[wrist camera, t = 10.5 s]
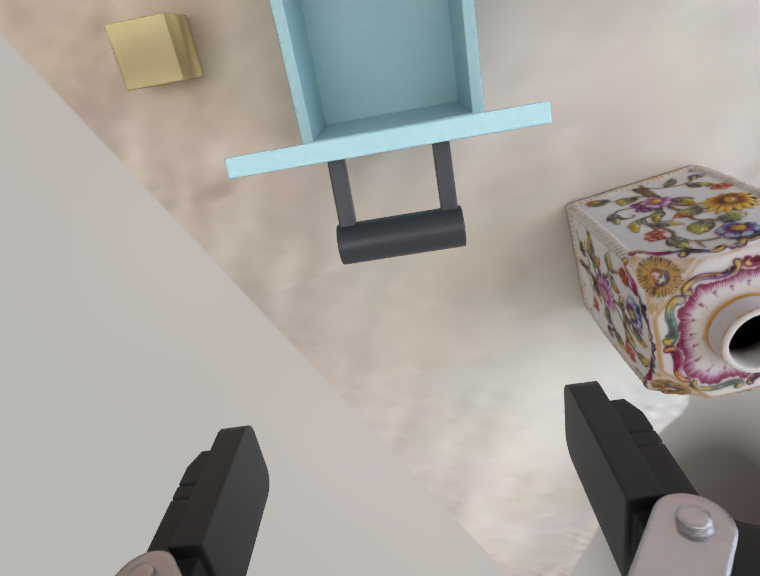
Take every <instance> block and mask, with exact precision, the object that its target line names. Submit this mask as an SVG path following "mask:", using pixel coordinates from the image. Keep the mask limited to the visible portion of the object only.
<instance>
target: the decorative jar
mask: <svg viewBox="0 0 760 576" xmlns="http://www.w3.org/2000/svg"><path fill="white" fill-rule="evenodd" d="M566 210H567V214H568V220H569V225H570V231H571V236H572V241H573V247H574V253H575V256H576V262H577V268H578V274H579V279H580V284H581V288H582V292H583V297H584V302H585V306H586V309H587V310H588V312H589V313H590V314H591V315H592V317H593V318H594V320H595V321H596V323H597V324H598V326H599V327H600V329H601V330H602V331H603V333H604V334H605V335H606V337H607V338H608V339H609V341H610V342H611V343H612V345H613V346H614V348H615V349H616V350H617V351H618V353H619V354H620V355H621V356H622V358H623V359H624V361H625V362H626V363H627V364H628V365H629V367H630V368H631V369H632V371H634V373H635V374H636V375H637V376H638V377H639V379H640V380H641V381H642V383H643V385H644V386H645V387H646V388H647V389H649V390H654V391H661V392H663V393H665V394H679V395H694V396H700V397H706V398H716V397H721V396H725V395H729V394H734V393H739V392H744V391H750V390H752V389H754V388H758V387H760V189H759V188H756V187H754V186H751V185H749V184H746V183H744V182H742V181H740V180H737V179H735V178H733V177H730V176H728V175H725V174H723V173H721V172H718V171H714V170H712V169H709V168H706V167H703V166H698V165H691V166H688V167H685V168H681V169H678V170H675V171H672V172H669V173H665V174H663V175H660V176H656V177H653V178H649V179H646V180H643V181H640V182H636V183H633V184H630V185H626V186H623V187H620V188H617V189H614V190H610V191H607V192H604V193H601V194H598V195H595V196H592V197H588V198H585V199H581V200H578V201H575V202H571V203H569V204H567V205H566Z"/></svg>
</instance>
